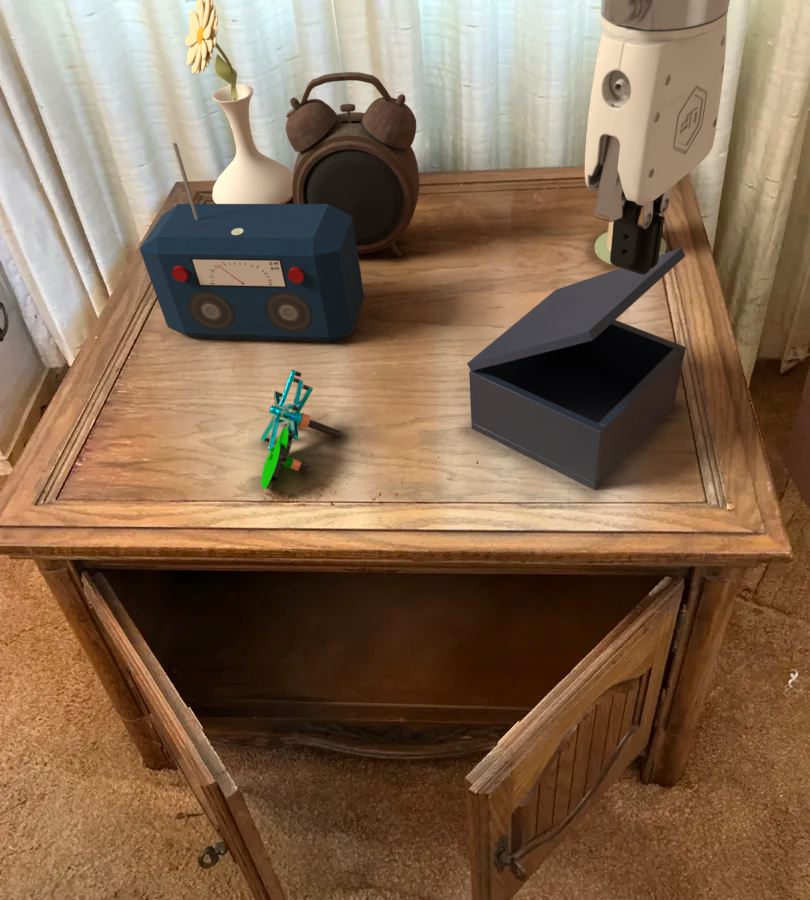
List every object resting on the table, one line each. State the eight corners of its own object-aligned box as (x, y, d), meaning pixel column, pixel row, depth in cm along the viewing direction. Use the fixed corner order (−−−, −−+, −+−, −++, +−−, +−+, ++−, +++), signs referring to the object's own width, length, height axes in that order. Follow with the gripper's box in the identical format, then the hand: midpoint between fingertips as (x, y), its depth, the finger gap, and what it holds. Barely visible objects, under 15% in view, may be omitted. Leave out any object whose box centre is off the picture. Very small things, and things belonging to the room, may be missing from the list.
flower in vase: (217, 186, 116) (161, -23, 98) (299, 175, 116) (259, -36, 98) (213, 235, 108) (150, 17, 89) (301, 223, 108) (258, 2, 89)
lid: (685, 256, 69) (682, 247, 69) (592, 340, 63) (588, 331, 63) (559, 296, 81) (555, 289, 81) (470, 371, 75) (466, 363, 75)
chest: (674, 405, 80) (686, 346, 75) (594, 490, 74) (601, 432, 69) (554, 355, 86) (557, 297, 81) (471, 428, 80) (468, 371, 75)
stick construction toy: (264, 390, 83) (293, 352, 76) (329, 414, 86) (362, 379, 79) (240, 499, 78) (268, 468, 72) (309, 522, 81) (342, 494, 75)
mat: (665, 230, 99) (665, 227, 99) (666, 268, 94) (667, 265, 94) (595, 229, 101) (596, 226, 100) (593, 267, 96) (593, 264, 95)
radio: (167, 345, 93) (101, 167, 78) (192, 298, 99) (136, 124, 84) (351, 351, 90) (319, 166, 75) (367, 302, 95) (341, 121, 80)
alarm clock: (302, 271, 101) (266, 95, 86) (310, 238, 105) (277, 66, 90) (424, 265, 99) (409, 85, 84) (427, 232, 104) (413, 56, 89)
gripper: (656, 45, 46) (623, 330, 60) (782, -40, 52) (726, 234, 66) (541, 24, 49) (535, 297, 63) (673, -53, 56) (641, 209, 70)
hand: (633, 264), depth 65 cm, fingers closed
